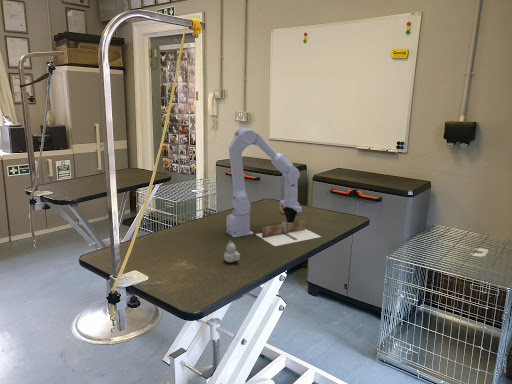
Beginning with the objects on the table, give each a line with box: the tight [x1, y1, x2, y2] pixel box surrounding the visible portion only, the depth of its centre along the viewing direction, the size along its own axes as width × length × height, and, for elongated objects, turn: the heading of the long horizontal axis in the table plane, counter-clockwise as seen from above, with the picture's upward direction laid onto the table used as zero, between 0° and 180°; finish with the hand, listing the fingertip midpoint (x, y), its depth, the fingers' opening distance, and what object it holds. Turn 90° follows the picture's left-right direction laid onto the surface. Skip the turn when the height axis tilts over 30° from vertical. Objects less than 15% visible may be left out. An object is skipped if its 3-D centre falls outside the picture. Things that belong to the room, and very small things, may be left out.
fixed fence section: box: [261, 221, 287, 239], centre depth 166 cm, size 11×2×5 cm, turn 118°
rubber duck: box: [223, 240, 241, 263], centre depth 140 cm, size 5×7×8 cm
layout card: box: [255, 228, 322, 247], centre depth 166 cm, size 22×16×1 cm
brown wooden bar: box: [287, 219, 306, 232], centre depth 170 cm, size 9×2×4 cm, turn 118°
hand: (290, 224), depth 175 cm, fingers closed
